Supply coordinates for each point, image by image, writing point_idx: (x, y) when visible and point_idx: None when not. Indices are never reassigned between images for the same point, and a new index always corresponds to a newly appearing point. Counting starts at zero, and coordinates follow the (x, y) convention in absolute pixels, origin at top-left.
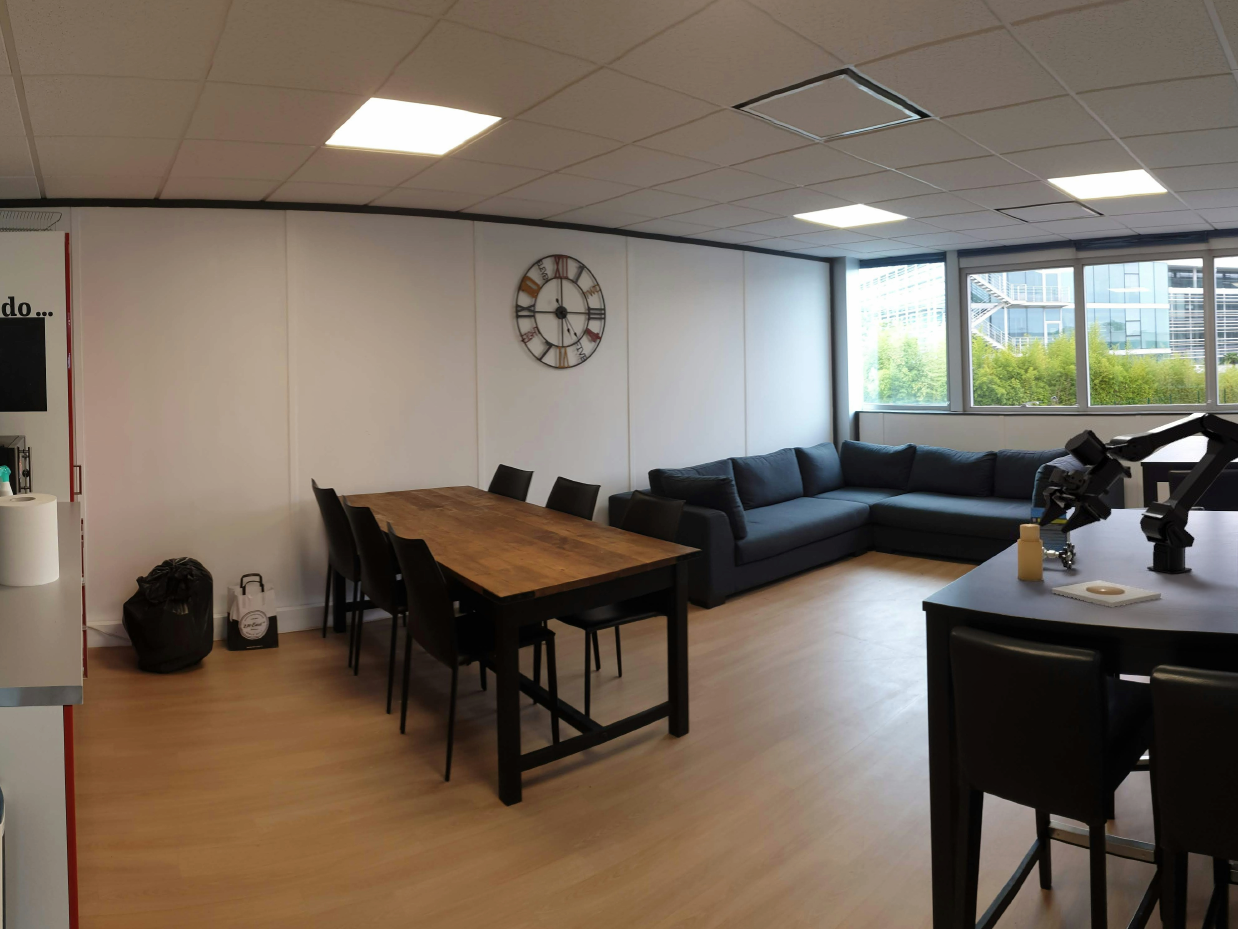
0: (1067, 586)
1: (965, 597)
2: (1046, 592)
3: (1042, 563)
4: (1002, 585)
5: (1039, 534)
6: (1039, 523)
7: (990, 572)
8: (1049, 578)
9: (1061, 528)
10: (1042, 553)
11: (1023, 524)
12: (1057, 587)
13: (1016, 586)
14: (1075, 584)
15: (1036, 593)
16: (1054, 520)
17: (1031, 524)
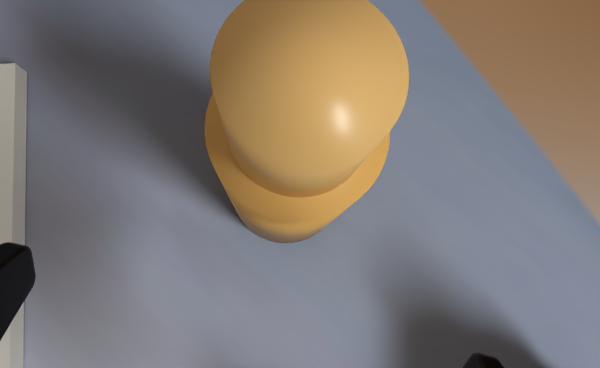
0: (1, 144)
1: None
2: (50, 64)
3: (236, 209)
4: (237, 5)
5: (249, 166)
6: (479, 358)
7: (462, 125)
8: (246, 266)
9: (3, 256)
10: (233, 202)
11: (406, 72)
12: (13, 94)
13: (195, 38)
14: (8, 205)
15: (60, 20)
16: None
17: (362, 135)
